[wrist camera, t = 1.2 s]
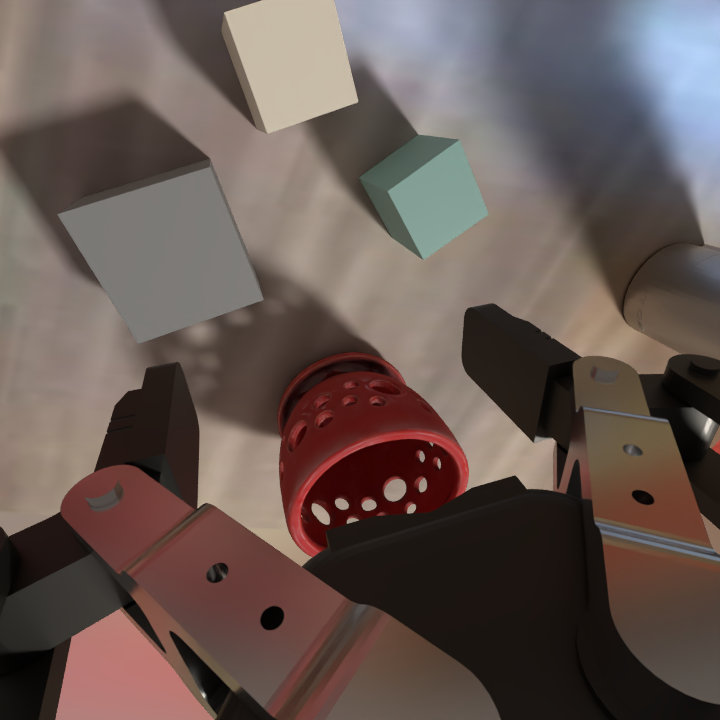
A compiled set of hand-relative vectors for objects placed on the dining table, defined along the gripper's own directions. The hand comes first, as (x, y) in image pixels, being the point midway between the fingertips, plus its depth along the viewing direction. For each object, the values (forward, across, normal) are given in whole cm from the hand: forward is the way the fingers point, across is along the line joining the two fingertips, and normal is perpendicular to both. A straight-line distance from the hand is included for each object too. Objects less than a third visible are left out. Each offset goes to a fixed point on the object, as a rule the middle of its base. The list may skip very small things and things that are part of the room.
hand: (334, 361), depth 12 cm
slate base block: (+21, +6, +1) cm, 22 cm away
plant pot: (+21, -4, +17) cm, 27 cm away
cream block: (+21, -2, -8) cm, 22 cm away
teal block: (+21, -10, 0) cm, 23 cm away
